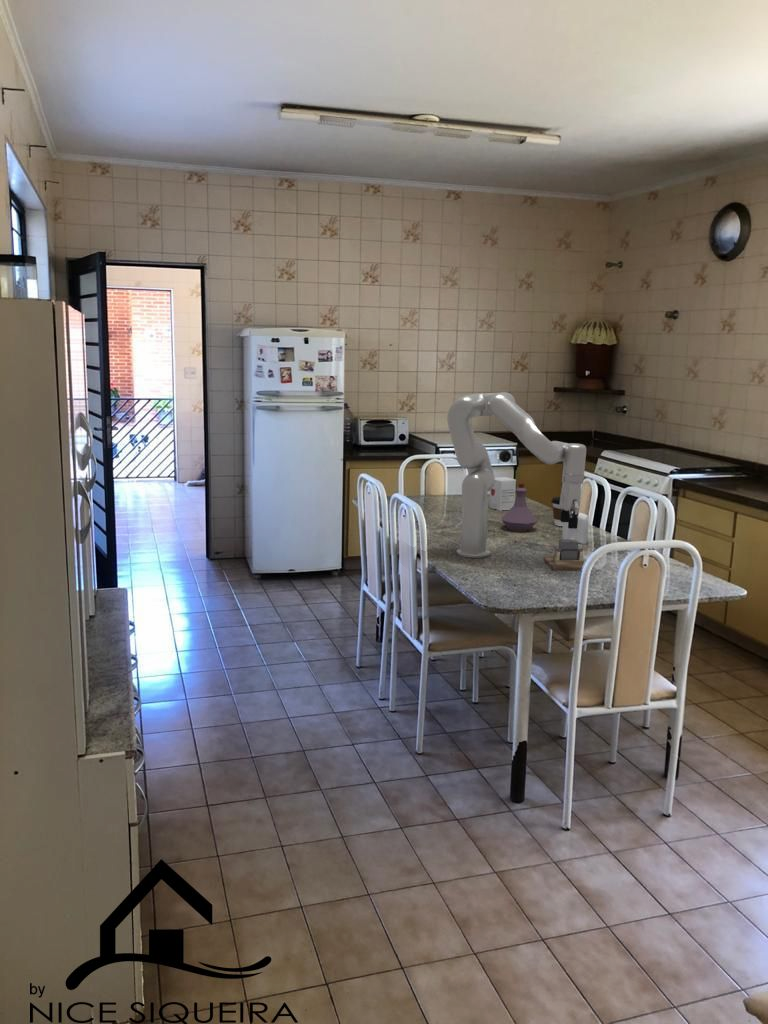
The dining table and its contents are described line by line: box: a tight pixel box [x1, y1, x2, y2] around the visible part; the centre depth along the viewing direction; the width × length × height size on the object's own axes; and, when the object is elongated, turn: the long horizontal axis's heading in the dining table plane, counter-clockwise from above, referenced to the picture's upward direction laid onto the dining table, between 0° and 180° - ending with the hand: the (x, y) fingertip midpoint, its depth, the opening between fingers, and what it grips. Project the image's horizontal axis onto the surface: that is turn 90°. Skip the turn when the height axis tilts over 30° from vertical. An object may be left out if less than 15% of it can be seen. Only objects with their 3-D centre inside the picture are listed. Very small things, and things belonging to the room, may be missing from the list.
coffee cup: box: [550, 496, 564, 527], centre depth 359 cm, size 11×11×12 cm
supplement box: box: [488, 476, 517, 512], centre depth 391 cm, size 9×9×15 cm
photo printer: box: [561, 512, 590, 545], centre depth 330 cm, size 10×4×12 cm, turn 56°
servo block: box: [553, 538, 584, 560], centre depth 295 cm, size 4×10×9 cm, turn 94°
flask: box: [500, 482, 538, 532], centre depth 350 cm, size 16×16×20 cm
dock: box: [543, 547, 585, 571], centre depth 296 cm, size 14×14×6 cm
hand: (568, 525), depth 294 cm, fingers open, 9 cm apart
